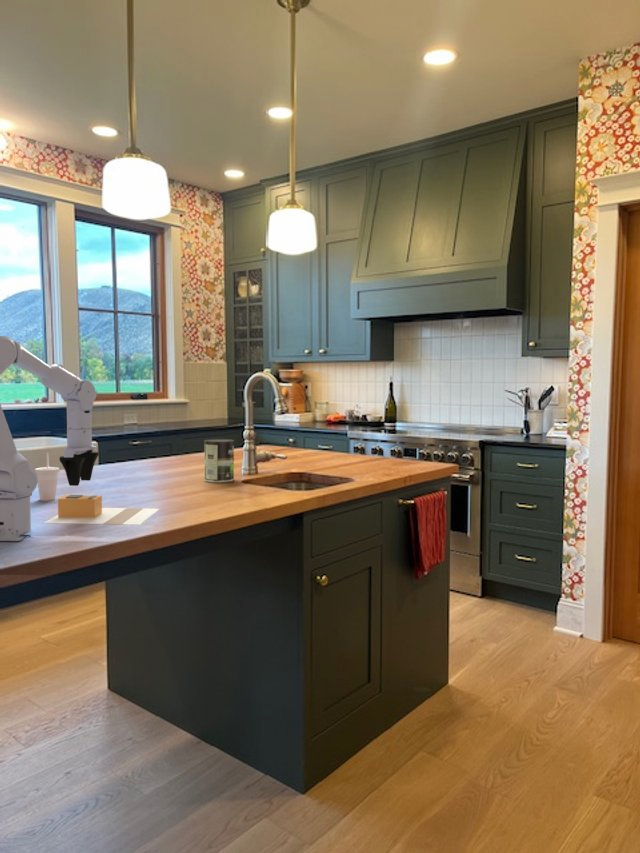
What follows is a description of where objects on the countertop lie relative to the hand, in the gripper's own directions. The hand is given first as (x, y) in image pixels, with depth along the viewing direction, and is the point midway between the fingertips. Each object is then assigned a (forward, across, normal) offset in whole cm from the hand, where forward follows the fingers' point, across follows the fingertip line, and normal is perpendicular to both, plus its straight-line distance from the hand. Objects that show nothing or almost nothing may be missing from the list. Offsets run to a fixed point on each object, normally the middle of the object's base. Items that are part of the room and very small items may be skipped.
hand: (80, 482), depth 156 cm
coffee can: (+10, +62, -24) cm, 67 cm away
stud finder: (+8, 0, 0) cm, 8 cm away
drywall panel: (+9, 0, -6) cm, 11 cm away
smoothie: (+9, +19, +16) cm, 27 cm away
